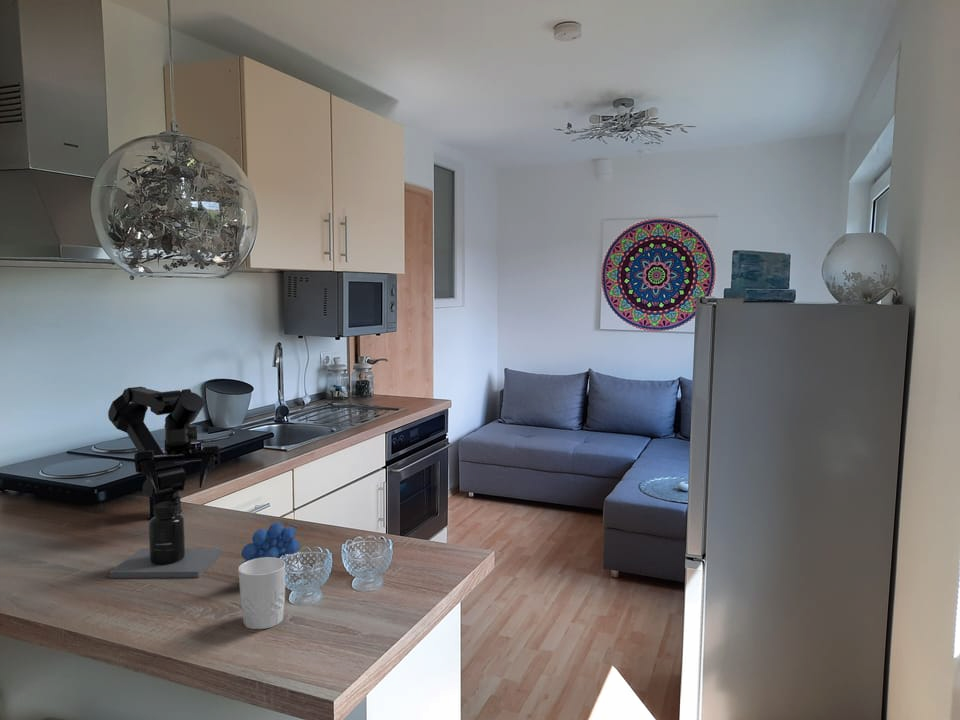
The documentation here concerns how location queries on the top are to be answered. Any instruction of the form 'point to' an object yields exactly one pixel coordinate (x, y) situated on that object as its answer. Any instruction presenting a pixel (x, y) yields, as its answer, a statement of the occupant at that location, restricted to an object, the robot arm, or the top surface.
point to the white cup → (262, 592)
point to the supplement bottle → (166, 534)
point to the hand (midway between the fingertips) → (179, 489)
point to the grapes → (271, 543)
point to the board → (167, 565)
